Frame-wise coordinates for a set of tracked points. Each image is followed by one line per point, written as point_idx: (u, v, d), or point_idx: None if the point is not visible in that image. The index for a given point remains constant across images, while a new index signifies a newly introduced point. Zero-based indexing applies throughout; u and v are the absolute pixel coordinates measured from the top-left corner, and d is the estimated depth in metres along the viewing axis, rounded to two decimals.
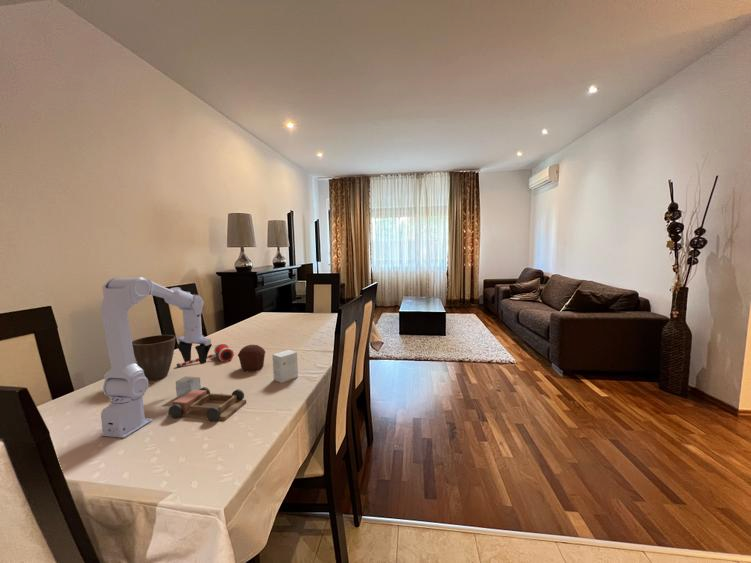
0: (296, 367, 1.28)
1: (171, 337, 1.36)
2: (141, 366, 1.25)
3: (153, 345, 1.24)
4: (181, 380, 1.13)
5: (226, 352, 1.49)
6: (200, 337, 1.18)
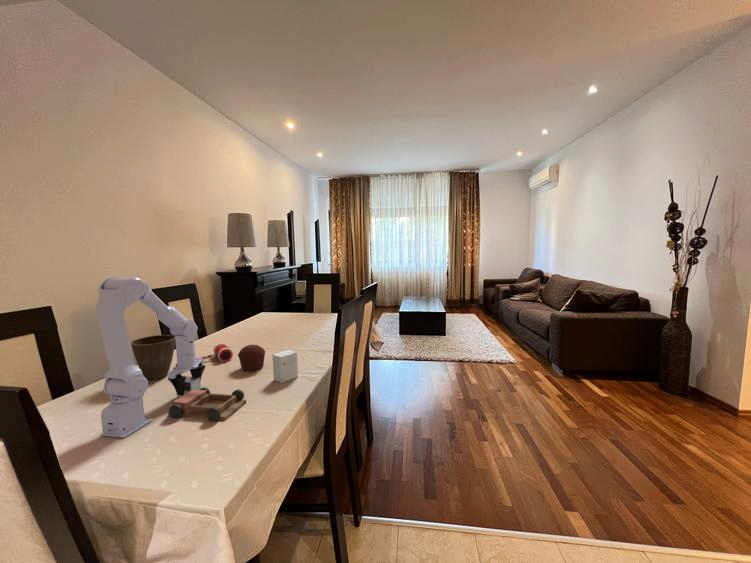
0: (296, 367, 1.28)
1: (171, 337, 1.36)
2: (141, 366, 1.25)
3: (153, 345, 1.24)
4: None
5: (225, 353, 1.49)
6: (182, 367, 1.10)
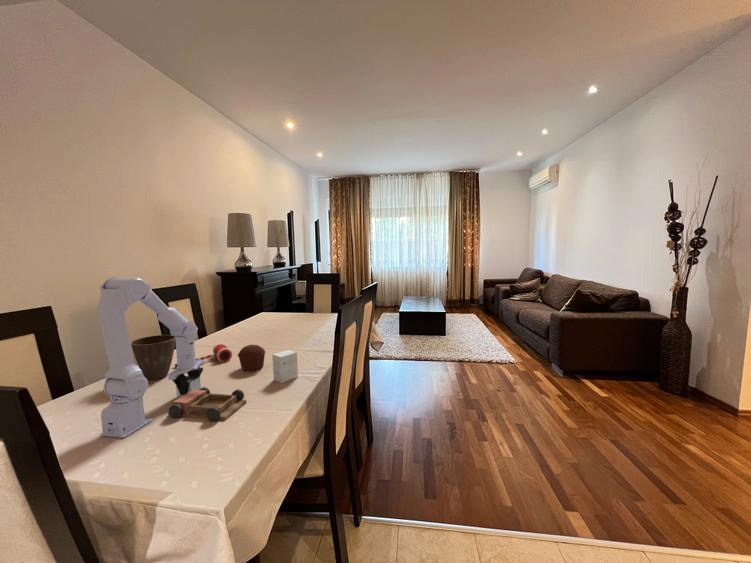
0: (296, 367, 1.28)
1: (171, 337, 1.36)
2: (141, 366, 1.25)
3: (153, 345, 1.24)
4: None
5: (224, 353, 1.48)
6: (182, 368, 1.10)
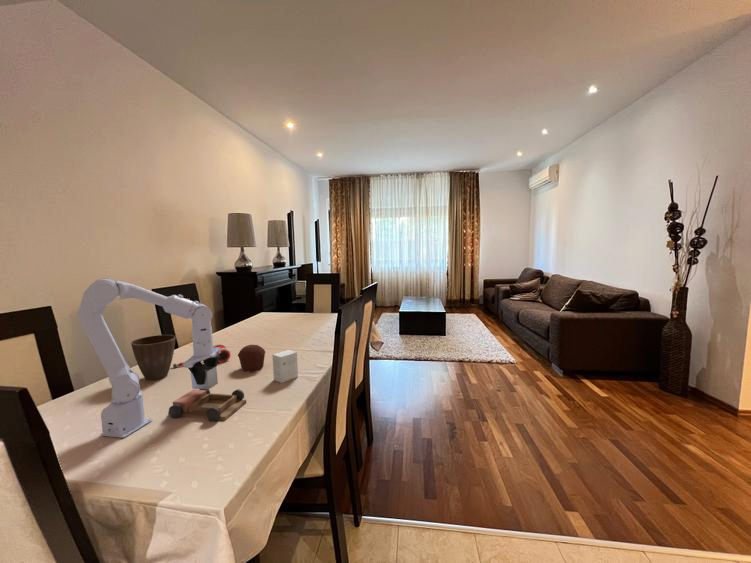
0: (296, 367, 1.28)
1: (171, 337, 1.36)
2: (141, 366, 1.25)
3: (153, 345, 1.24)
4: None
5: (222, 353, 1.48)
6: (199, 355, 1.02)
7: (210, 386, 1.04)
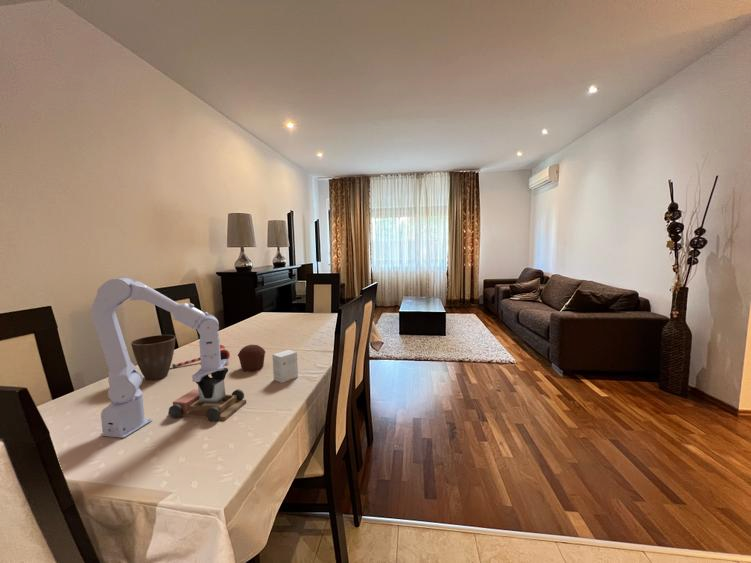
0: (296, 367, 1.28)
1: (171, 337, 1.36)
2: (141, 366, 1.25)
3: (153, 345, 1.24)
4: None
5: (222, 353, 1.48)
6: (207, 369, 0.99)
7: (218, 400, 1.01)
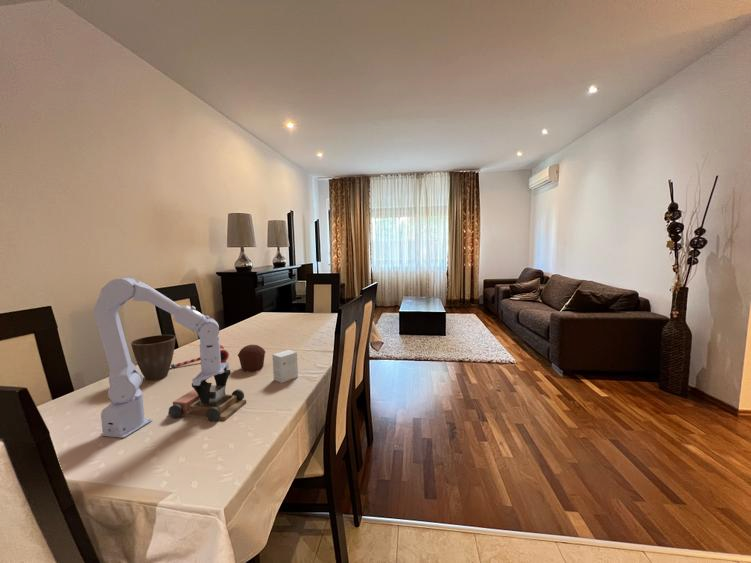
0: (296, 367, 1.28)
1: (171, 337, 1.36)
2: (141, 366, 1.25)
3: (153, 345, 1.24)
4: None
5: (220, 353, 1.48)
6: (207, 372, 0.99)
7: None
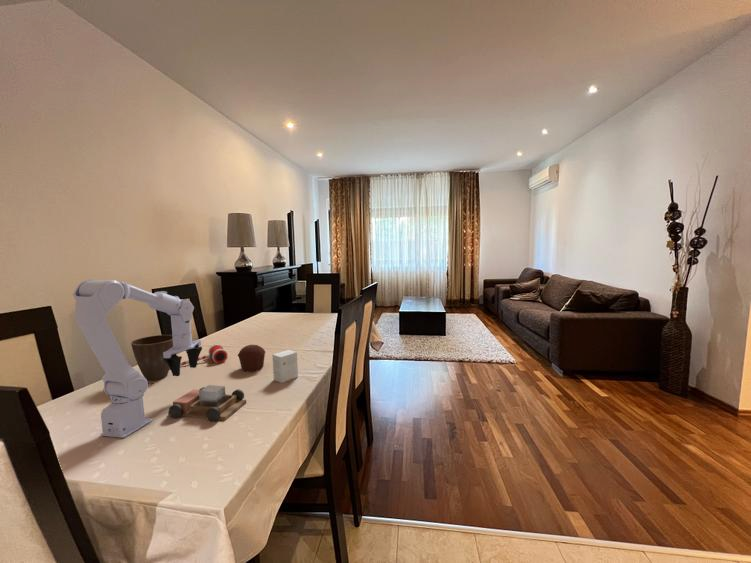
0: (296, 367, 1.28)
1: (171, 337, 1.36)
2: (141, 366, 1.25)
3: (153, 345, 1.24)
4: (205, 389, 1.02)
5: (219, 354, 1.47)
6: (178, 347, 1.08)
7: None
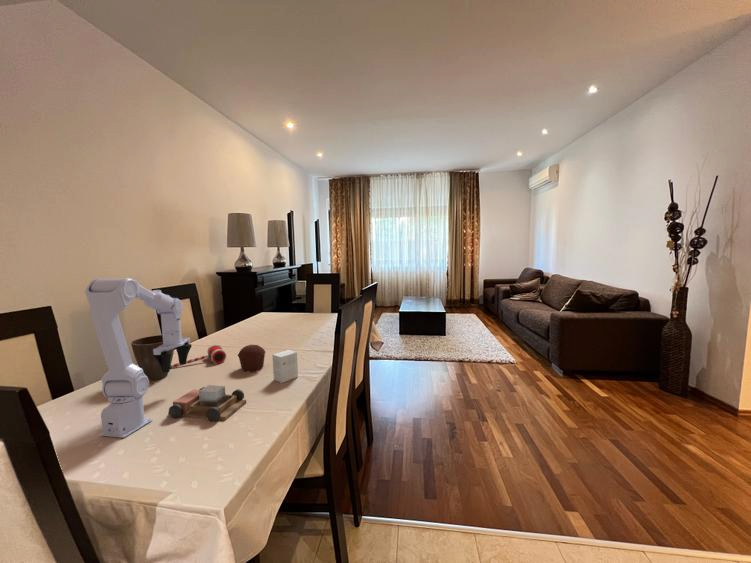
0: (296, 367, 1.28)
1: None
2: (141, 366, 1.25)
3: (153, 345, 1.24)
4: (205, 389, 1.02)
5: (218, 354, 1.47)
6: (167, 344, 1.12)
7: None
